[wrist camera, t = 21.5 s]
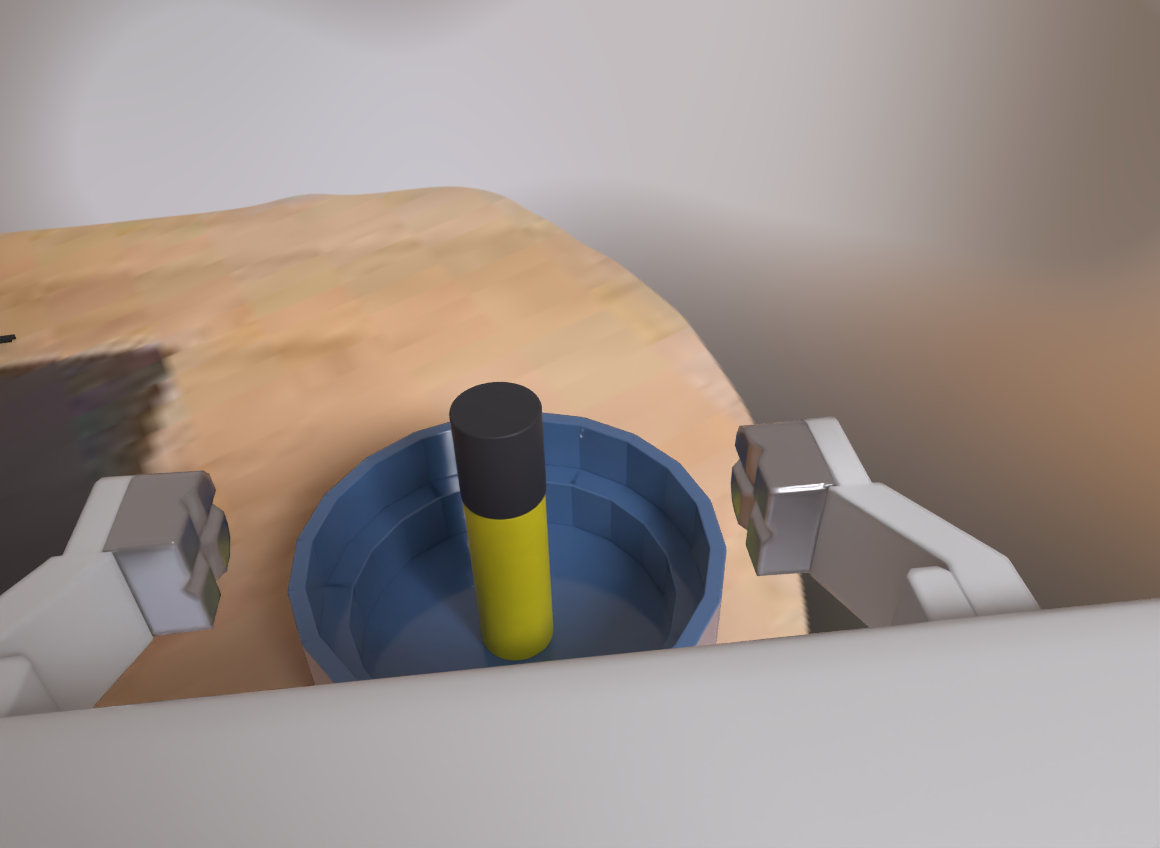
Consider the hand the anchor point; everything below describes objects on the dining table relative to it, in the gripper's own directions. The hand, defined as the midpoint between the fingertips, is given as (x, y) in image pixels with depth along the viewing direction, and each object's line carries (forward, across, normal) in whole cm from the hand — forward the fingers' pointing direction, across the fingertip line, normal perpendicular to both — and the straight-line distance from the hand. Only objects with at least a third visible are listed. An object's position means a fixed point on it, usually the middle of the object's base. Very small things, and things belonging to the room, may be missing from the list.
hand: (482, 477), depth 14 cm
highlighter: (+12, 0, +19) cm, 22 cm away
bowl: (+12, 0, +20) cm, 23 cm away
